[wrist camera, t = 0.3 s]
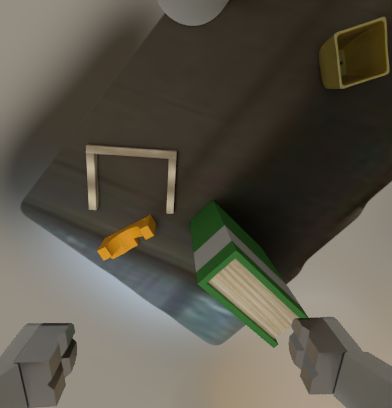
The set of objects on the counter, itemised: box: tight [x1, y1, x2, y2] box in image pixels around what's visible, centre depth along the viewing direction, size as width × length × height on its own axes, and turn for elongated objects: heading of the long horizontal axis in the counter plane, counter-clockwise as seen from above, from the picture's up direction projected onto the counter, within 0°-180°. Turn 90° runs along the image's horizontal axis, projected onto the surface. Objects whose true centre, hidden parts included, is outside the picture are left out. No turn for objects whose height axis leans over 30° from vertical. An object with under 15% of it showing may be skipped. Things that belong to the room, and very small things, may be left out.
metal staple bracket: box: [86, 144, 177, 214], centre depth 54 cm, size 14×18×2 cm
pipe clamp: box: [97, 215, 156, 260], centre depth 56 cm, size 12×4×6 cm, turn 117°
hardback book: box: [190, 200, 308, 348], centre depth 49 cm, size 18×7×24 cm, turn 44°
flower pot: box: [319, 17, 389, 89], centre depth 46 cm, size 9×9×9 cm
